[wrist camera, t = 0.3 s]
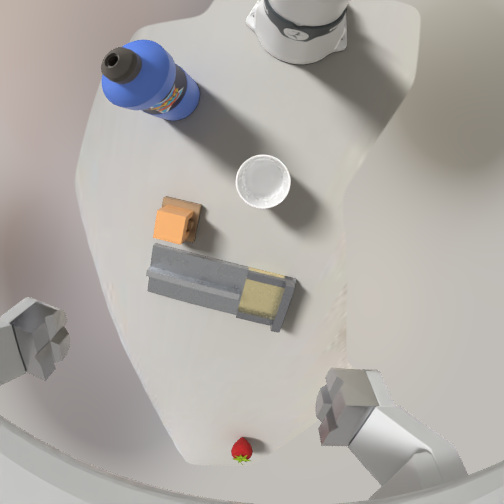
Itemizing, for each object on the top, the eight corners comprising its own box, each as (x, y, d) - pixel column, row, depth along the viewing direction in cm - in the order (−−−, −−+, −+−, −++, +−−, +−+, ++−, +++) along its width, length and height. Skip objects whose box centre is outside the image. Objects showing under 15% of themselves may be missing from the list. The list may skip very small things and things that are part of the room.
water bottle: (143, 94, 47) (66, 63, 23) (183, 64, 45) (128, 9, 21) (168, 131, 49) (97, 118, 25) (210, 101, 47) (167, 60, 23)
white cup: (271, 206, 53) (273, 218, 43) (232, 185, 52) (225, 192, 42) (293, 169, 50) (300, 172, 41) (254, 147, 49) (252, 144, 40)
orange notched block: (163, 229, 53) (153, 237, 48) (167, 204, 52) (157, 210, 46) (188, 235, 53) (180, 244, 48) (193, 210, 52) (185, 217, 47)
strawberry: (254, 432, 73) (253, 459, 63) (251, 445, 75) (249, 471, 66) (234, 429, 73) (231, 457, 63) (231, 443, 75) (228, 468, 65)
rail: (155, 243, 56) (147, 250, 51) (295, 278, 57) (298, 288, 53) (150, 287, 59) (142, 297, 55) (280, 321, 60) (282, 333, 56)
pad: (166, 196, 53) (159, 199, 49) (201, 204, 53) (197, 208, 50) (160, 231, 55) (153, 236, 52) (194, 240, 55) (190, 246, 52)
